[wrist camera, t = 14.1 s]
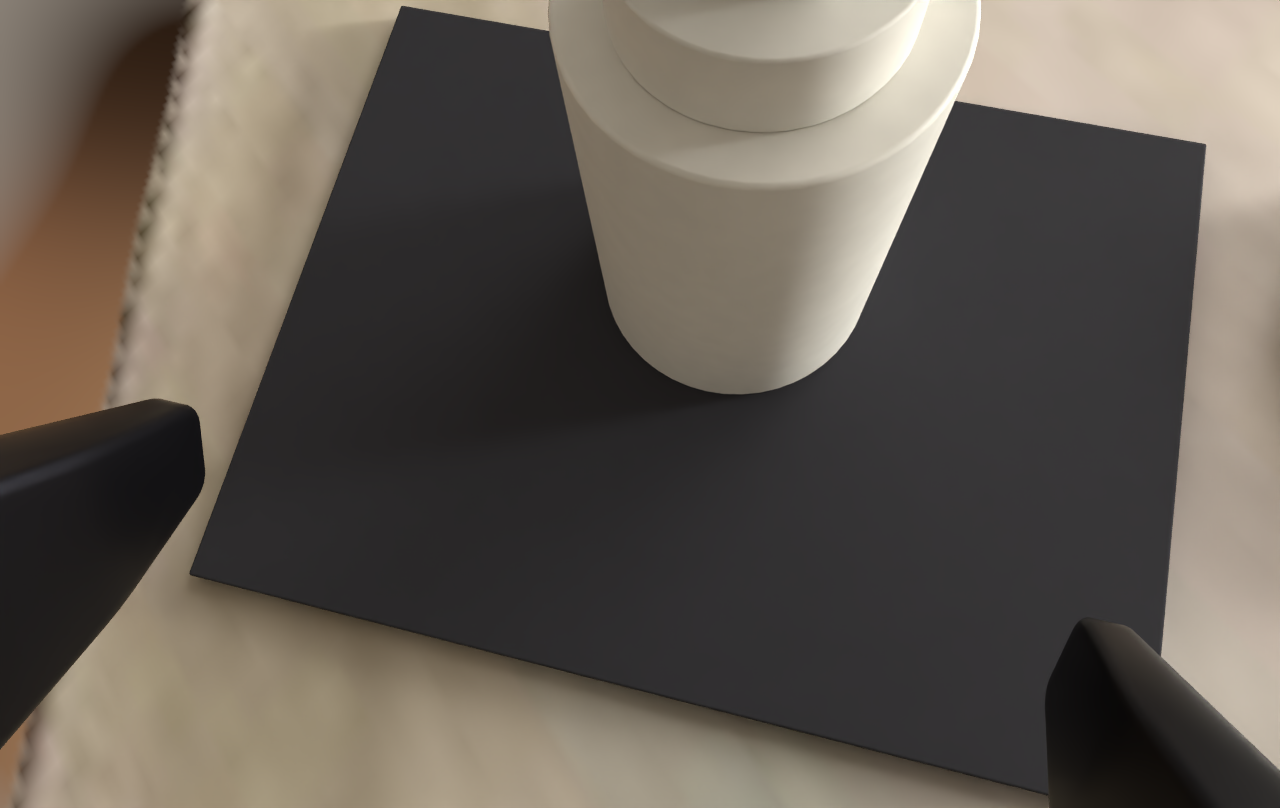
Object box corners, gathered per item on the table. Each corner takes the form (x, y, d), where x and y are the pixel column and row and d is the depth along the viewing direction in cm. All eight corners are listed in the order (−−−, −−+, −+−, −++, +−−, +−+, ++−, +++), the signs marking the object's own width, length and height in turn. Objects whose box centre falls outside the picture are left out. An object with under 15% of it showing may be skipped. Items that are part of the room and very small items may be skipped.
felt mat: (1137, 818, 18) (1147, 820, 18) (197, 576, 21) (187, 574, 20) (1198, 152, 22) (1207, 143, 22) (405, 15, 25) (401, 4, 24)
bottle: (840, 421, 20) (1044, 48, 9) (575, 363, 21) (423, -57, 9) (887, 182, 22) (1114, -413, 10) (640, 135, 23) (581, -472, 11)
